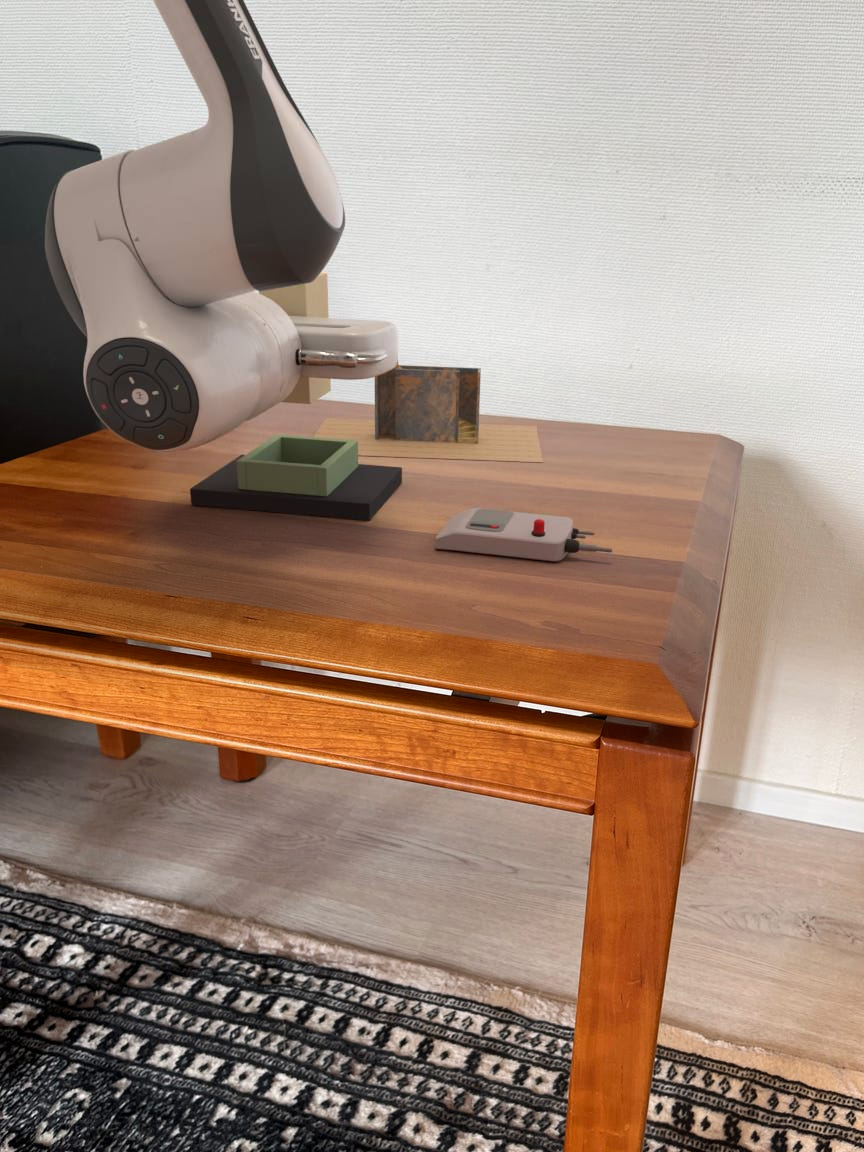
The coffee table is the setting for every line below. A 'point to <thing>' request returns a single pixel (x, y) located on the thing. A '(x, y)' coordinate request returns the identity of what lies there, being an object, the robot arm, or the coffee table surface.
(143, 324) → the robot arm
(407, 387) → the architectural model on board
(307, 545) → the coffee table surface
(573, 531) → the grey electronic control box
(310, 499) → the base pad
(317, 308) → the tall beige rectangular block
